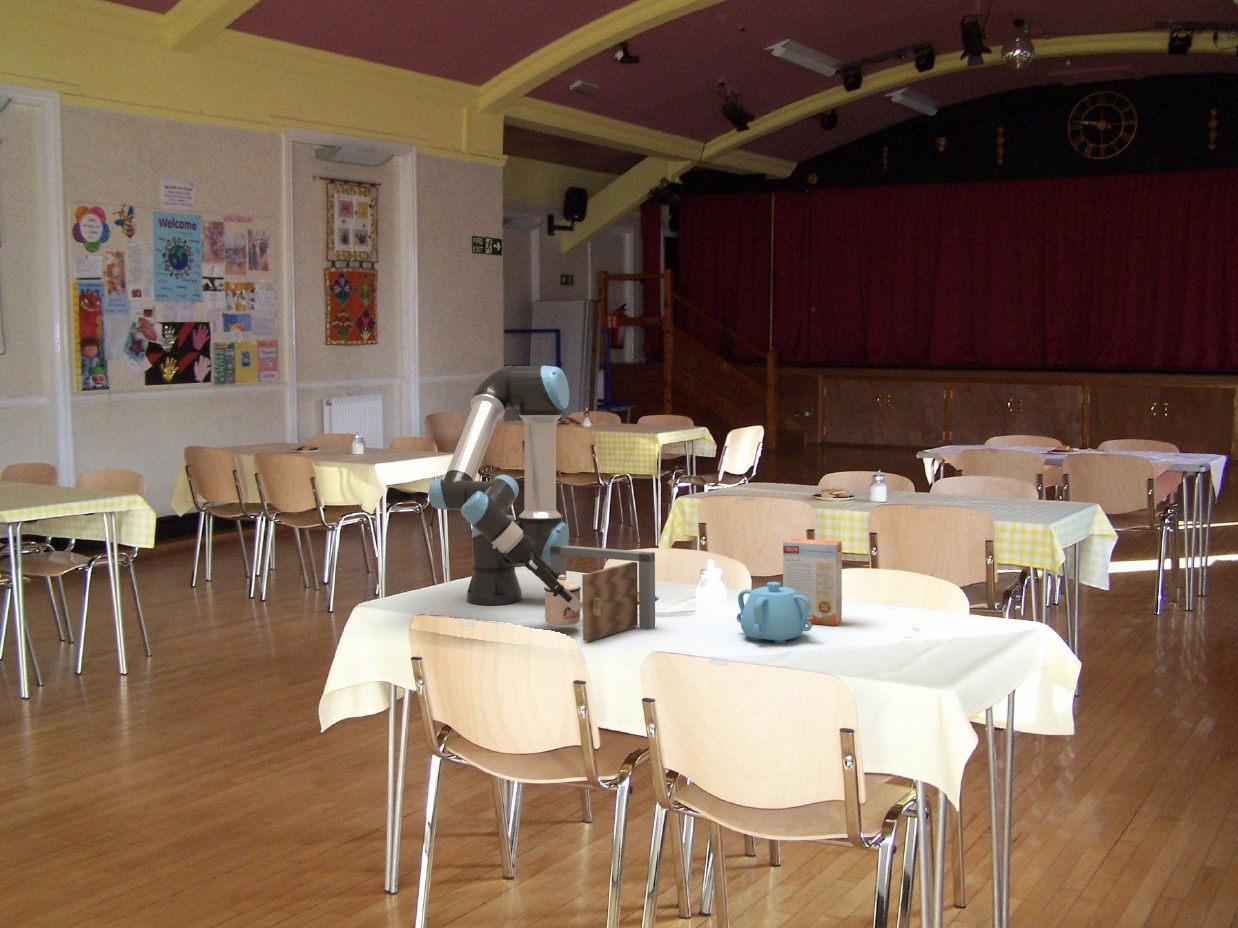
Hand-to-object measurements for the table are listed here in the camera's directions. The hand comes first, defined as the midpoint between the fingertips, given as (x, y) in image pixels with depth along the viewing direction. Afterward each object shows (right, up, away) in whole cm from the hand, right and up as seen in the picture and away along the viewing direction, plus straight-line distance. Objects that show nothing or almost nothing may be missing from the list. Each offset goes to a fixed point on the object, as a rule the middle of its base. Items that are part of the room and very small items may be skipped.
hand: (577, 603), depth 319 cm
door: (+9, -7, -6) cm, 12 cm away
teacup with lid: (-3, -4, 0) cm, 5 cm away
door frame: (+6, -6, +8) cm, 11 cm away
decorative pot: (+48, -7, -9) cm, 49 cm away
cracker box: (+60, -6, +7) cm, 60 cm away
